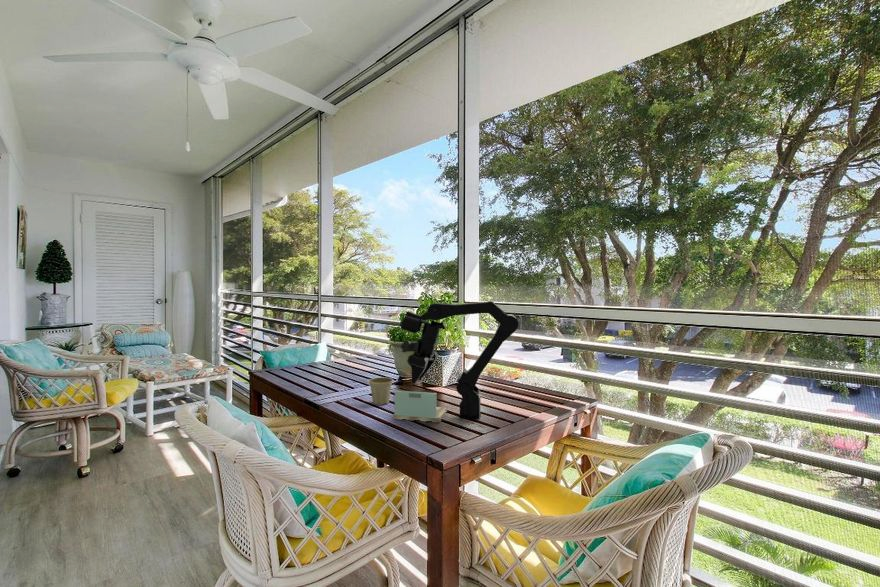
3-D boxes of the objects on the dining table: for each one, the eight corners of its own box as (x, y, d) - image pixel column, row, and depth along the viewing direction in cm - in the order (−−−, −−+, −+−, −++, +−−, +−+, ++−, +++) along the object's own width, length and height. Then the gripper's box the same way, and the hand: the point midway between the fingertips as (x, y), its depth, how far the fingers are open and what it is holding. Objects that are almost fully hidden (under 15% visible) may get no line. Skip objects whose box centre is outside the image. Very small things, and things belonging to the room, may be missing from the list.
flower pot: (369, 407, 155) (369, 383, 155) (367, 400, 165) (367, 378, 164) (395, 405, 158) (395, 382, 158) (391, 398, 167) (391, 376, 167)
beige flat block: (447, 411, 150) (447, 407, 150) (439, 422, 139) (439, 418, 139) (404, 408, 154) (404, 404, 154) (393, 418, 142) (393, 414, 142)
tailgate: (436, 417, 139) (436, 393, 138) (435, 418, 137) (435, 394, 137) (396, 414, 142) (396, 390, 141) (394, 415, 140) (394, 391, 140)
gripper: (415, 328, 157) (403, 368, 158) (399, 333, 139) (386, 378, 140) (443, 337, 155) (431, 378, 156) (430, 343, 137) (417, 389, 138)
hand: (416, 380), depth 148 cm, fingers open, 9 cm apart
